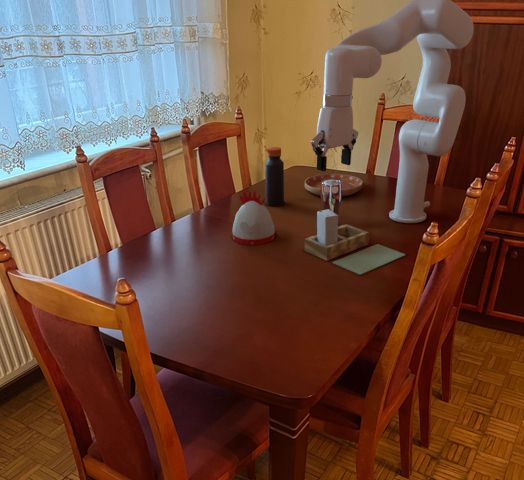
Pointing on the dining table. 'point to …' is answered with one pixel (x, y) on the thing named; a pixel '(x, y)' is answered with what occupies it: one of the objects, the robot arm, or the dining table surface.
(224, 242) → the dining table surface
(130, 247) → the dining table surface
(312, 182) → the shallow brown bowl
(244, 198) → the kitchen timer
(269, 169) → the bottle
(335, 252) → the rack
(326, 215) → the cosmetic box
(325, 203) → the beer glass
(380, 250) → the placemat
